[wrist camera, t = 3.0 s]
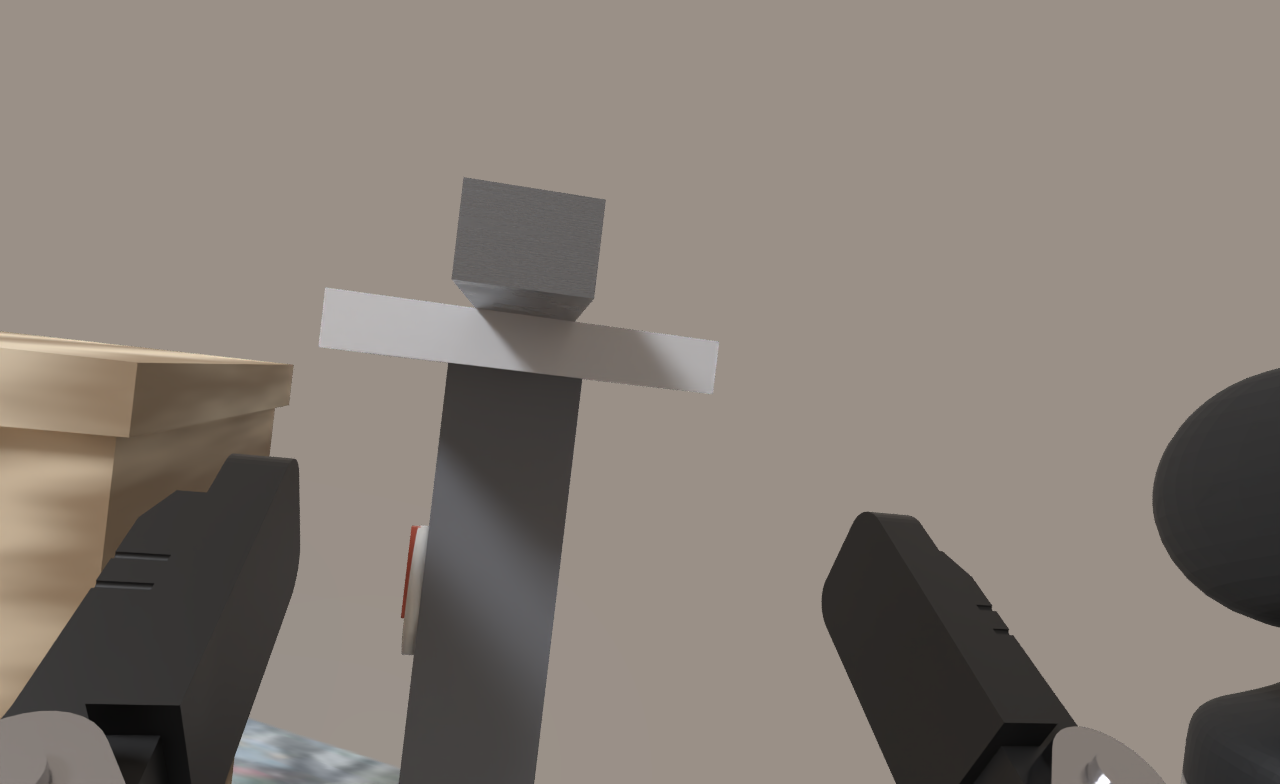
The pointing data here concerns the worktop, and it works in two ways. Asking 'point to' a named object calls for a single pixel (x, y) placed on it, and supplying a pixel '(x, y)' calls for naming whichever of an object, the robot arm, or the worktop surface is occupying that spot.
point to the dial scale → (495, 511)
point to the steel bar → (527, 249)
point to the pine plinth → (104, 465)
